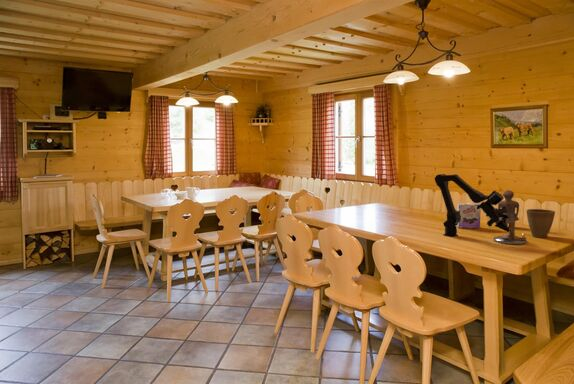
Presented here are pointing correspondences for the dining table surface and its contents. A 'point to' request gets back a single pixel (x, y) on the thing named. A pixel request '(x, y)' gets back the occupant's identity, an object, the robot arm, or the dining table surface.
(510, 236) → the crank handle
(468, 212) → the candy box
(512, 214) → the clay figurine
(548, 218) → the plant pot
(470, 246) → the dining table surface
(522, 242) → the post base
